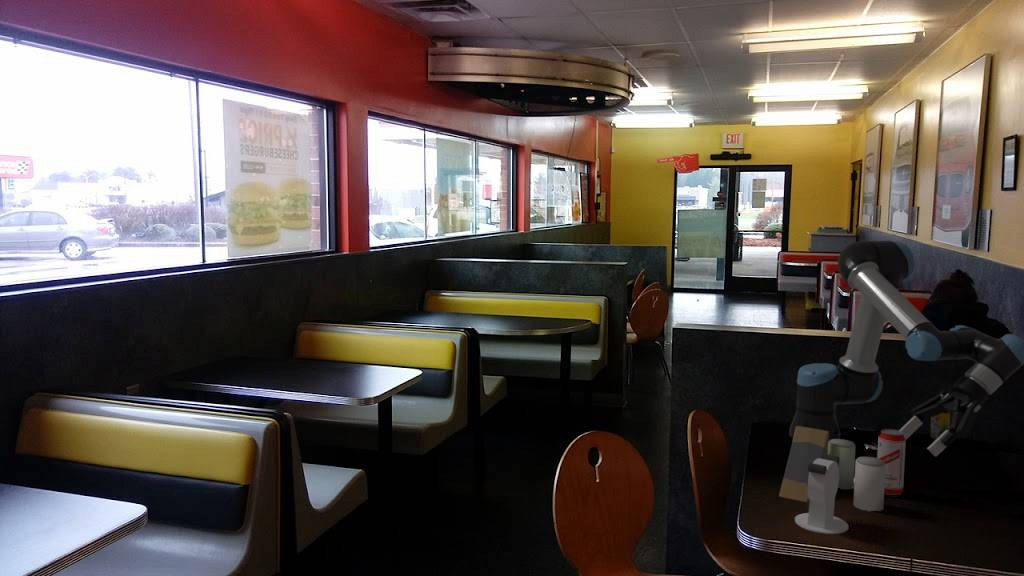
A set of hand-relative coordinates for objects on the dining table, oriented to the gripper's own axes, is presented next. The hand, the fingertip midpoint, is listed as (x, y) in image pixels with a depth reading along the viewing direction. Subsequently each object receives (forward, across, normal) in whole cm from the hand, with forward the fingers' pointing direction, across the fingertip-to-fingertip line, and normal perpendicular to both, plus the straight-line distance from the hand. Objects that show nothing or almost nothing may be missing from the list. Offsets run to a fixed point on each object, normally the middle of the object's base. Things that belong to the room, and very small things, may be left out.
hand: (915, 444), depth 192 cm
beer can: (+13, +1, -5) cm, 14 cm away
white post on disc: (+32, -18, +13) cm, 39 cm away
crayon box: (-16, +47, -35) cm, 61 cm away
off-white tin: (+20, -8, +2) cm, 22 cm away
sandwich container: (+29, +3, +10) cm, 30 cm away
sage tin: (+20, +7, +2) cm, 21 cm away
